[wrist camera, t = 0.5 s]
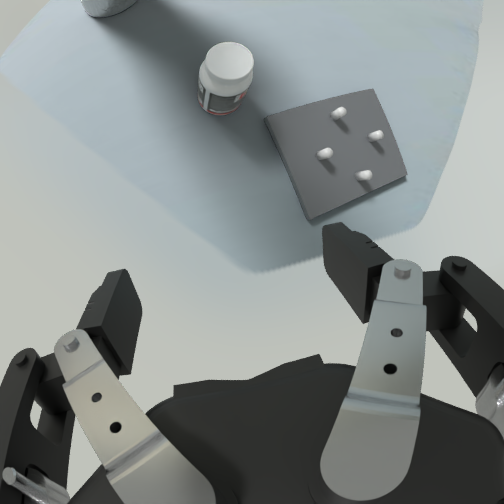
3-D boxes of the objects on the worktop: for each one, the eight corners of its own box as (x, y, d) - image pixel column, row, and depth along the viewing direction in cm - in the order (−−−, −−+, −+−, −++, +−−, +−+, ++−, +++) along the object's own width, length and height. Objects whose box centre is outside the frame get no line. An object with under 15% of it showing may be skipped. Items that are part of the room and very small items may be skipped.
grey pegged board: (264, 119, 34) (271, 110, 31) (368, 90, 37) (382, 83, 33) (306, 219, 37) (318, 220, 34) (402, 175, 40) (418, 173, 36)
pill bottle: (250, 93, 34) (271, 58, 24) (224, 124, 34) (237, 95, 24) (215, 70, 32) (224, 29, 22) (187, 100, 32) (187, 64, 22)
